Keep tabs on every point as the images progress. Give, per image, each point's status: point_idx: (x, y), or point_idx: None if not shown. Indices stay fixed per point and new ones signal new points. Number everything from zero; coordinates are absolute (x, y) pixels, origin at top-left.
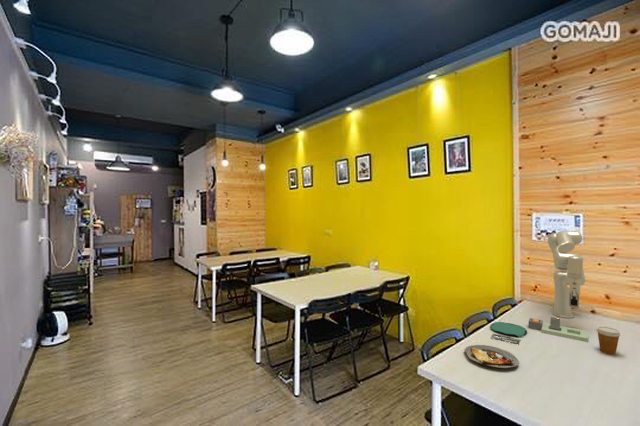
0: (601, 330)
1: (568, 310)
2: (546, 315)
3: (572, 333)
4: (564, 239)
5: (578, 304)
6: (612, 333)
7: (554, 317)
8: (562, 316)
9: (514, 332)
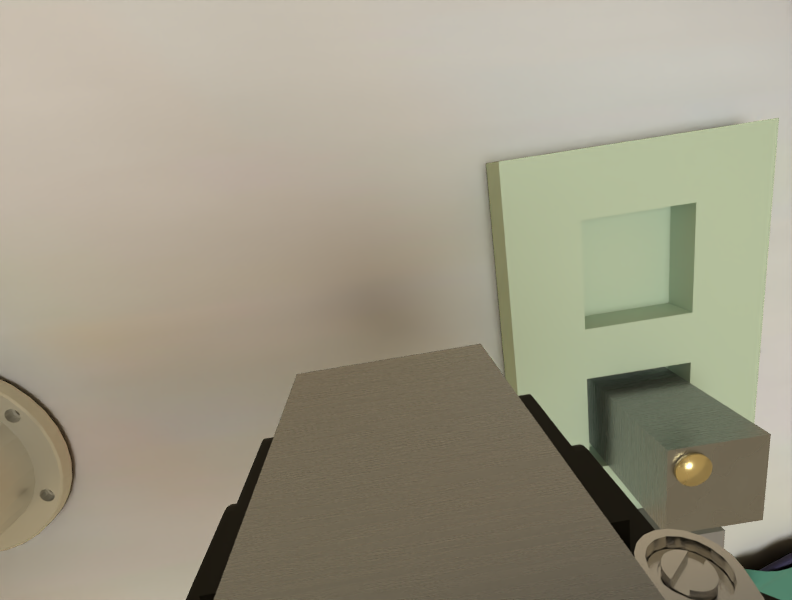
0: None
1: None
2: (137, 551)
3: (700, 268)
4: None
5: (507, 385)
6: None
7: (668, 502)
8: (59, 447)
9: None
